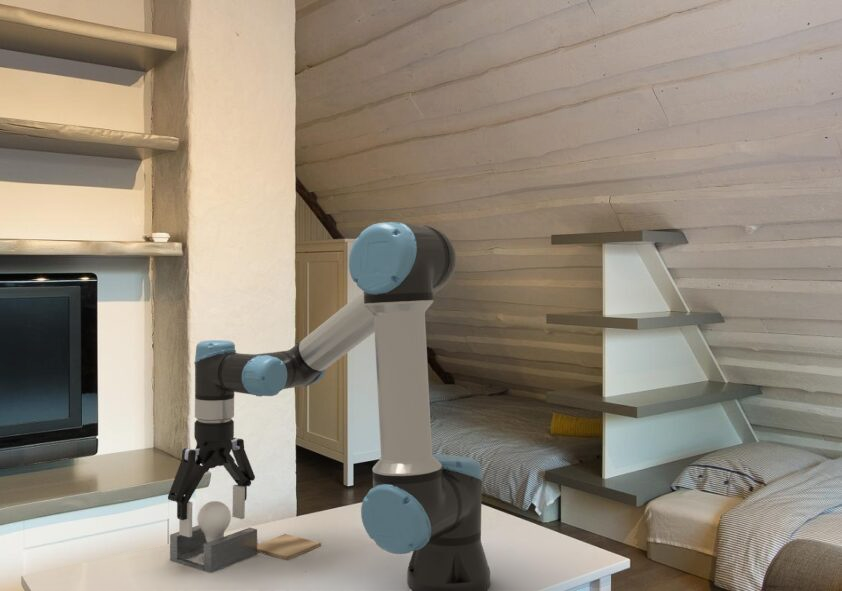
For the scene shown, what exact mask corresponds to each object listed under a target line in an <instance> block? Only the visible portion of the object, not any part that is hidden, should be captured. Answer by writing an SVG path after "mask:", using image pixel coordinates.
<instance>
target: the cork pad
mask: <svg viewBox="0 0 842 591" xmlns="http://www.w3.org/2000/svg"><path fill="white" fill-rule="evenodd" d="M321 546H322V542H320V541H316V540H311V539H307V538H303V537H299V536H294V535H292V534H291V535H290V534H287V533H283V534H281V535H278V536H276V537H273V538H270V539H268V540H265V541H263V542H260V543H257V553H261V554H264V555H268V556H272V557H276V558H278V559H279V558H280V559H283V560H286V561H288V560H291V559H293V558H296V557H298V556H300V555H304V554H305V553H307V552H310V551H311V550H314V549H317V548H319V547H321Z"/></svg>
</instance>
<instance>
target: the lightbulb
mask: <svg viewBox="0 0 842 591" xmlns="http://www.w3.org/2000/svg"><path fill="white" fill-rule="evenodd" d="M231 518H232V514H231V511H230V509H229V507H228V506H227V505H226V504H225V503H223V502H222V501H217V500H214V501H213V500H212V501H209V502H207V503H205V504H203V506H201V508H200V509H199V511H198V514H197V520H196V521H197V524H198V525H199V527H200V529H201V530H202V531H203V533H204V535H205V539H206V542H207V543H208V542H211V541H213V540H216V539H219V538H222V537H223V534H224V535H225V532H226V530H227V528H228V527H229V526H230V523H231ZM198 525H197V526H198Z"/></svg>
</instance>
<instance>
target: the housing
mask: <svg viewBox="0 0 842 591" xmlns="http://www.w3.org/2000/svg"><path fill="white" fill-rule="evenodd" d="M257 544H258V528H254V527H248V528H244V529H243V530H239V531H237V532H234V533H231V534H228V535H225V533H224V534H223V537H222V538H219V539H216V540H213V541H211V542H208V543H207V542H206V539H205V535H204V533H203V531H202V530H201V529H200V527H199V525H195V526H192V536H191V537H186V536H183V535H179V531H177V532H174V533H170V535H169V560H170V561H171V562H175V563H178V564H182V565H185V566H188V567H192V568H194V569H198V570H201V571H205V572H208V573H214V572H216V571H218V570H221V569H223V568H225V567H228V566H229V567H230V566H231V565H233V564H236V563H238V562H241V561H244V560H247V559H248V558H251V557H253V556H256V555H257V554H258V552H257ZM201 554H203V564H201V563H199V562H194V561H192V560H188V559H189V558H192V557H195V556H197V555H201Z"/></svg>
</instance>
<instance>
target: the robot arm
mask: <svg viewBox="0 0 842 591" xmlns="http://www.w3.org/2000/svg"><path fill="white" fill-rule="evenodd" d="M348 255H349V257H348V269H349V274H350V276H351V279H352V280H353V282H354V283H356V286H357V287H358V289H360V290H362V291H361V292H360V293H358V295H357V296H355V297H354V298H353V299H351V300H350V301H349V302H347V303H346V304H345V305H344V306H342V307H341V308H340V309H338V310H337V311H336V312H335V313H333V315H332V316H330V317H329V318H328V319H327V320H325V321H324V322H323V323H322V324H320V325H319V326H318V327H316V328H315V329H314V330H313V331H312V332H310V333H309V334H308V335H306V336H305V337H304V338H303V339H302V340H301V341H299V342H298V343H296V344H295V345H294V346H293V347H291V348H290V349H288V350H282V351H273V352H264V353H263V352H262V353H256V354H255V353H254V354H253V353H252V354H251V353H240V352H239V353H238V352H237V350H236V347H235V346H236V345H235V343H234V342H233V341H231V340H226V339H225V340H223V339H222V340H215V339H211V340H202V341H199V342H198V343H197V344H196V347H195V356H194V357H195V359H194V417H195V419H196V420H195V421H194V427H193V428H194V440H195V442H196V446H195V448H193V449H191V448H186V447H185V448H183V449H182V452H181V461H180V463H179V466H178V469H177V471H176V474H175V477H174V480H173V482H172V484H171V487H170V490H169V492H168V495H167V500H169V501H172V502H176V518H177V519H178V520H179V525H178V527H179V528H178V529H179V531H178V532H179V535H183V536H186V537H191V536H192V527H193V501H190V500H191V498H192V496H193V495H194V493H195V492H196V489H197V488H198V486H199V484H200V482H201V480H202V478H203V477H204V475H205V474H206V473H207V472H209V470H210V469H215V468H216V467H222V466H223V467H224V469H225V471H227V473H228V474H229V475H230V477H231V478H232V479H233V480H234V482H235V484H233V485H232V514H231V518H235V519H240V520H245V517H246V515H245V514H246V512H245V511H246V509H245V508H246V506H245V505H246V501H247V496H248V494H247V492H248V491H247V490H248V488H247V487H250V486H251V485H252V481H254V480H255V478H256V476H255V474H254V471H253V468H252V466H251V465H252V464H251V463H250V459H249V458H248V455H247V452H246V450H245V441H244V439H243V438H238V437H235V436H234V435H235V421H234V420H233V418H234V417H235V393H239V394H245V395H251V396H252V395H253V396H256V397H274V396H277V395H278V394H279V393H280V392H281V391H283V390H286V389H287V390H288V389H294V388H299V387H308V386H311V385H312V384H316V383H319V382H320V381H321V380H322V379H323V378H324V376H325V374H326V371H327V369H328V368H329V367H331V366H332V365H333V364H334V363H335V362H337V361H339V360H340V359H341V358H342V357H344V356H345V355H346V354H348V353H349V352H350V351H351V350H353V349H354V348H356V347H357V346H358V345H359V344H360V343H362V342H363V341H365V340H366V339H367V338H369V337H370V336H371V335H373V334H374V344H375V346H374V347H375V348H374V349H375V366H376V384H377V385H376V386H377V387H376V388H377V403H378V404H377V405H378V421H379V423H378V425H379V442H380V458H379V460H378V461H377V462H376V463H375V464H374V465H373V467H372V486H373V487H372V488H370V490H369V491H368V492H367V494H366V495H365V496H364V497H363V499H362V503H361V507H360V508H361V509H360V512H361V513H360V515H361V522H362V524H363V527H364V530H365V532H366V533H367V535H368V536H369V538H370V539H371V540H373V541H374V543H375V544H376V546H378V547H379V548H381V549H382V550H383V551H386V552H387V553H392V554H395V555H406V554H409V553H411V552H412V554H411V557H410V560H409V563H408V567H407V572H406V573H407V574H406V575H407V576H406V577H407V578H406V582H407V586H408V587H409V588H410V589H412V591H487V590H489V588H490V585H491V569H490V567H489V564H488V560H487V557H486V553H485V550H484V547H483V544H482V498H483V497H482V495H483V492H482V490H483V482H484V481H483V480H484V479H483V478H482V475H483V474H482V465H481V464H480V462H479V461H478V460H476V459H474V458H471V457H466V456H460V455H451V454H437V453H436V454H435V453H433V447H432V446H433V445H432V426H431V423H432V422H431V410H430V407H431V406H430V387H429V370H428V369H429V368H428V351H427V350H428V349H427V346H428V345H427V328H426V312H427V310H428V309H429V308H430V307H431V305H433V303H434V295H435V294H437V293H438V291H440V290H441V289H442V288H444V287H445V286H446V285H447V284H448V283H449V281H450V280H451V279H452V277H453V275H454V273H455V270H456V266H457V255H456V250H455V247H454V244H453V243H452V241H451V240H450V238H449V237H448V236H447V234H445V233H444V232H442V231H441V230H440V229H437V228H435V227H431V226H428V225H419V224H418V225H417V224H411V223H403V222H399V221H394V222H393V221H390V222H377V223H374V224H371V225H369V226H368V227H366V228H365V229H364V230H362V231H361V232H360V234H359V235H358V236H357V237H356V239H355V240H354V242H353V243H352V245H351V249H350V250H349V254H348ZM231 452H232V454H233V456H232V454H230V453H231Z"/></svg>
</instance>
